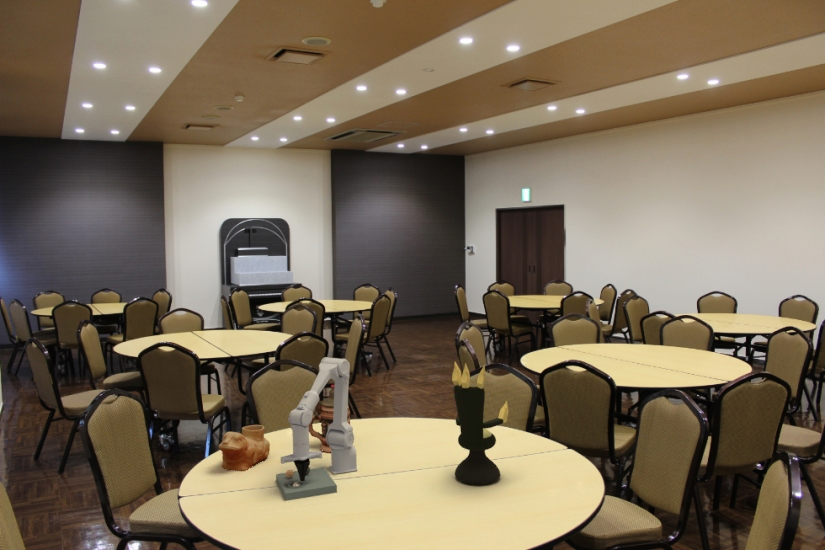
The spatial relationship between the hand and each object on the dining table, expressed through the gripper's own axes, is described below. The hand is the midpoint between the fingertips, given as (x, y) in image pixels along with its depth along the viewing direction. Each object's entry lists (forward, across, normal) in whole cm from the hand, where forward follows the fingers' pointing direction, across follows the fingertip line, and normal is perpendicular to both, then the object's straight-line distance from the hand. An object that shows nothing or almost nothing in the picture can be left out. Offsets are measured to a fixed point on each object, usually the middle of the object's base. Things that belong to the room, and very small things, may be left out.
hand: (302, 480), depth 233 cm
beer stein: (+4, +22, +42) cm, 47 cm away
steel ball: (+2, -2, 0) cm, 3 cm away
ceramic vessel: (+4, -16, +38) cm, 41 cm away
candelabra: (+4, +61, -17) cm, 63 cm away
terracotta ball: (0, -3, +7) cm, 8 cm away
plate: (+4, +2, +3) cm, 5 cm away
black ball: (-1, +3, +8) cm, 8 cm away
